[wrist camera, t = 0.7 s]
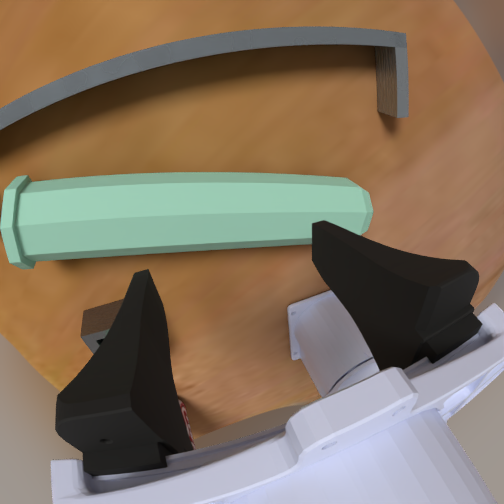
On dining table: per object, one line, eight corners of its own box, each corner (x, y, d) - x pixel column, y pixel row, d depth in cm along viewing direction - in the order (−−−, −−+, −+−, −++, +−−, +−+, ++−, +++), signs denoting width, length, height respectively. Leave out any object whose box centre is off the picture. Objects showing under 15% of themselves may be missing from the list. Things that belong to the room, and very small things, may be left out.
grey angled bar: (388, 110, 22) (408, 116, 20) (-14, 220, 16) (-27, 237, 14) (384, 32, 18) (405, 33, 16) (-46, 141, 12) (-63, 151, 10)
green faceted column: (398, 214, 20) (-9, 231, 12) (359, 261, 25) (25, 287, 16) (362, 158, 23) (17, 157, 15) (332, 207, 28) (37, 218, 19)
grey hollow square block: (157, 332, 27) (160, 357, 25) (107, 345, 26) (107, 370, 24) (137, 294, 24) (138, 320, 22) (83, 310, 23) (80, 336, 21)
